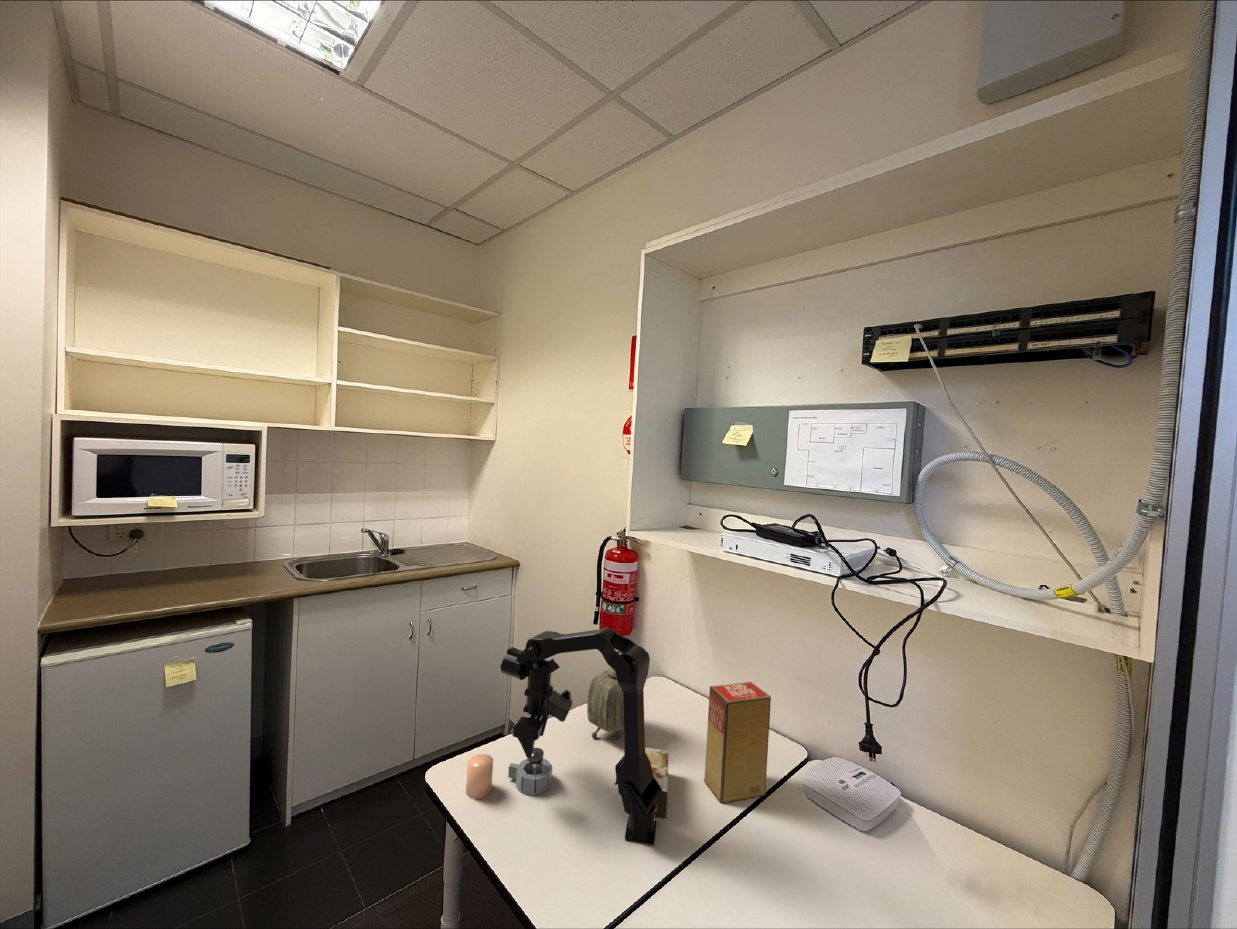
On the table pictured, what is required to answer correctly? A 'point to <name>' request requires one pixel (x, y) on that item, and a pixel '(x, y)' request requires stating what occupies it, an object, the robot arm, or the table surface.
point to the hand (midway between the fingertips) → (535, 746)
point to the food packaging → (737, 741)
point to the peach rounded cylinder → (479, 776)
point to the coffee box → (660, 777)
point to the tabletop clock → (605, 702)
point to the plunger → (535, 759)
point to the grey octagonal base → (531, 777)
